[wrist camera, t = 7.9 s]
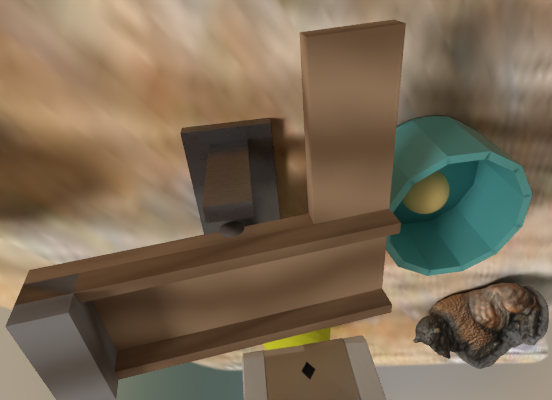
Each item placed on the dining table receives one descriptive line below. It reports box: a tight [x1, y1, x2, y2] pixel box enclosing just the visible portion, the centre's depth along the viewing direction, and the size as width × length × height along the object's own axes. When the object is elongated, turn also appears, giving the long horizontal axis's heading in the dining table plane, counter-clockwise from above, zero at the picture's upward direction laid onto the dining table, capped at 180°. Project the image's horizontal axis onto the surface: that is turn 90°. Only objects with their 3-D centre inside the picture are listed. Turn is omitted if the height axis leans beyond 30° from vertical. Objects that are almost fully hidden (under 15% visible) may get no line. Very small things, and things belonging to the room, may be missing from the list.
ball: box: [402, 170, 450, 214], centre depth 34 cm, size 4×4×4 cm
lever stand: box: [181, 118, 280, 235], centre depth 31 cm, size 14×7×10 cm, turn 5°
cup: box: [386, 115, 533, 276], centre depth 33 cm, size 11×11×7 cm
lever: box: [6, 20, 406, 400], centre depth 23 cm, size 19×22×5 cm
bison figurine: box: [413, 283, 549, 369], centre depth 43 cm, size 12×7×10 cm
